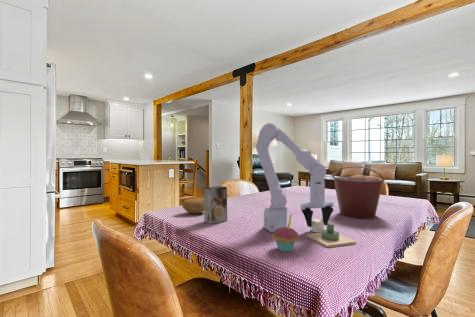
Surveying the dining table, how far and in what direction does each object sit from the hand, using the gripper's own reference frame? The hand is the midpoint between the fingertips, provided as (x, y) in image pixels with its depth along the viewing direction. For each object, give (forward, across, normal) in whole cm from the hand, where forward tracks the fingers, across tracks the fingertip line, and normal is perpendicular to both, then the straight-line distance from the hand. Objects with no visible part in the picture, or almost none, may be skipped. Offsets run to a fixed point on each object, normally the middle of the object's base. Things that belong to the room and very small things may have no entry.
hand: (317, 225), depth 102 cm
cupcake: (+2, -22, -14) cm, 26 cm away
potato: (+2, -44, +44) cm, 62 cm away
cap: (+2, 0, 0) cm, 2 cm away
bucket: (+2, +36, +17) cm, 40 cm away
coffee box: (+2, -37, +26) cm, 45 cm away
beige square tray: (+2, -2, -11) cm, 11 cm away
